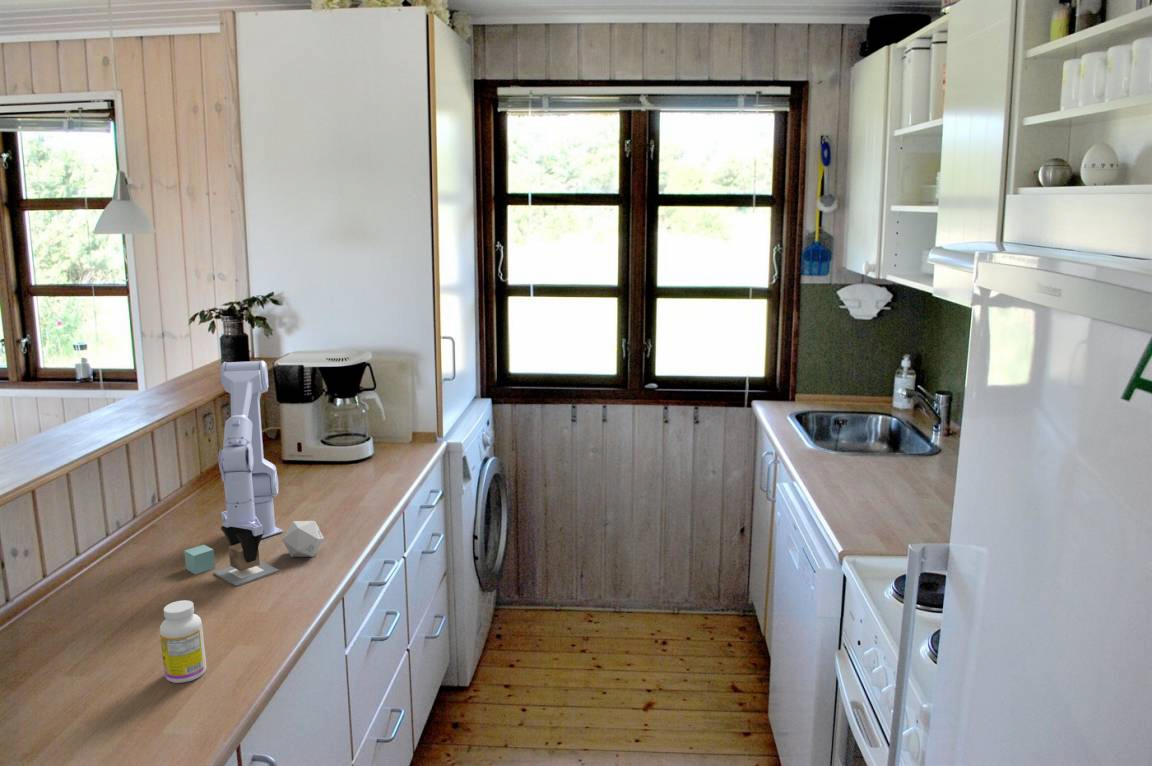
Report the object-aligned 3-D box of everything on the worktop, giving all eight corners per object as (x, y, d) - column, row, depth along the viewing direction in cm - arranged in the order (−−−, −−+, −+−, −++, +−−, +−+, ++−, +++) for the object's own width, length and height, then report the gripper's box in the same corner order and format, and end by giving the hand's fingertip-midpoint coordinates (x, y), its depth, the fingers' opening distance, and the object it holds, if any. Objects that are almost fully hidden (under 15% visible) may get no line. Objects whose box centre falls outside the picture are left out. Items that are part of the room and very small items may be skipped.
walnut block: (230, 565, 188) (228, 546, 187) (249, 559, 192) (247, 540, 191) (240, 571, 185) (238, 551, 184) (259, 564, 189) (258, 545, 188)
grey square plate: (213, 573, 188) (213, 571, 188) (255, 559, 196) (255, 557, 196) (236, 586, 182) (236, 584, 182) (279, 571, 189) (278, 569, 189)
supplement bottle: (173, 664, 151) (166, 598, 149) (212, 663, 152) (205, 596, 149) (158, 685, 145) (150, 616, 142) (199, 683, 145) (191, 614, 143)
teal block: (186, 569, 191) (184, 550, 190) (205, 563, 194) (203, 544, 193) (195, 574, 188) (193, 555, 187) (215, 568, 192) (213, 549, 191)
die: (301, 567, 193) (325, 530, 194) (270, 547, 194) (294, 511, 195) (312, 565, 201) (335, 530, 202) (282, 546, 202) (304, 511, 203)
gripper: (205, 496, 187) (211, 554, 190) (239, 512, 178) (244, 572, 181) (236, 488, 192) (241, 545, 195) (270, 503, 183) (275, 562, 186)
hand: (245, 557), depth 188 cm, fingers closed on walnut block, 4 cm apart
